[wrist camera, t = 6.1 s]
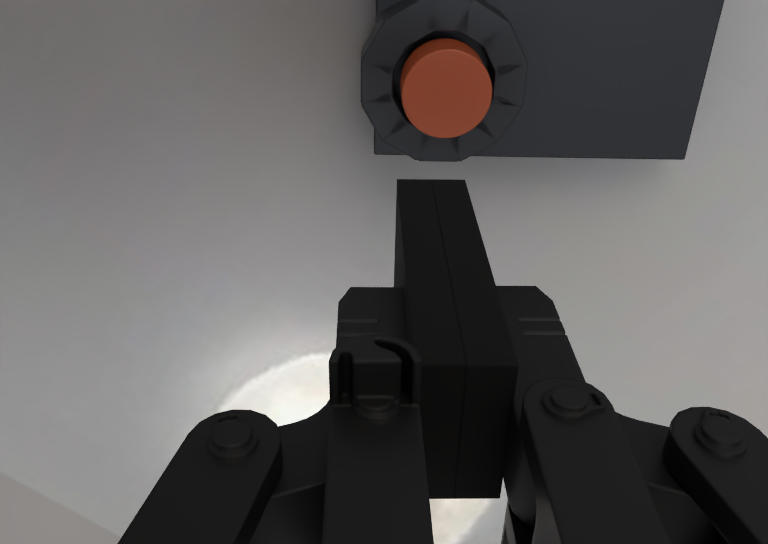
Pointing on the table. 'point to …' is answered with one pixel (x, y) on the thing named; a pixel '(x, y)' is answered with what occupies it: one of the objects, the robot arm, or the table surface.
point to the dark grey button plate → (551, 75)
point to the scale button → (445, 88)
